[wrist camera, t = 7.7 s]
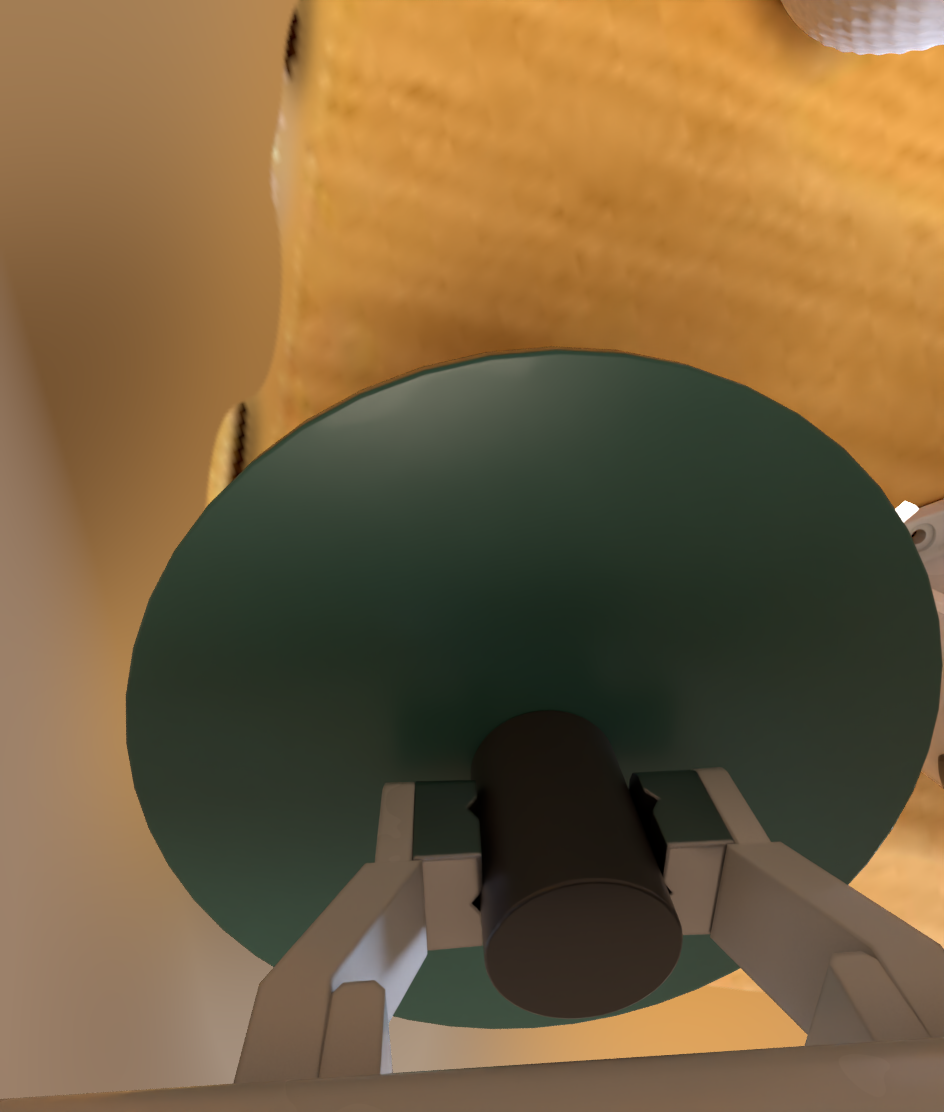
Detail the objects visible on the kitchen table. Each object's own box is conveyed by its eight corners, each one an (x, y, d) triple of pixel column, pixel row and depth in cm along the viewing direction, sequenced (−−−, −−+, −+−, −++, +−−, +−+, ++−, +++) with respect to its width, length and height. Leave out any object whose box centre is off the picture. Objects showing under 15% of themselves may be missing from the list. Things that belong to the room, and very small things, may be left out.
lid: (454, 122, 9) (473, -46, 4) (1047, 649, 13) (1370, 837, 8) (23, 805, 13) (-191, 1070, 8) (575, 1049, 17) (625, 1319, 12)
